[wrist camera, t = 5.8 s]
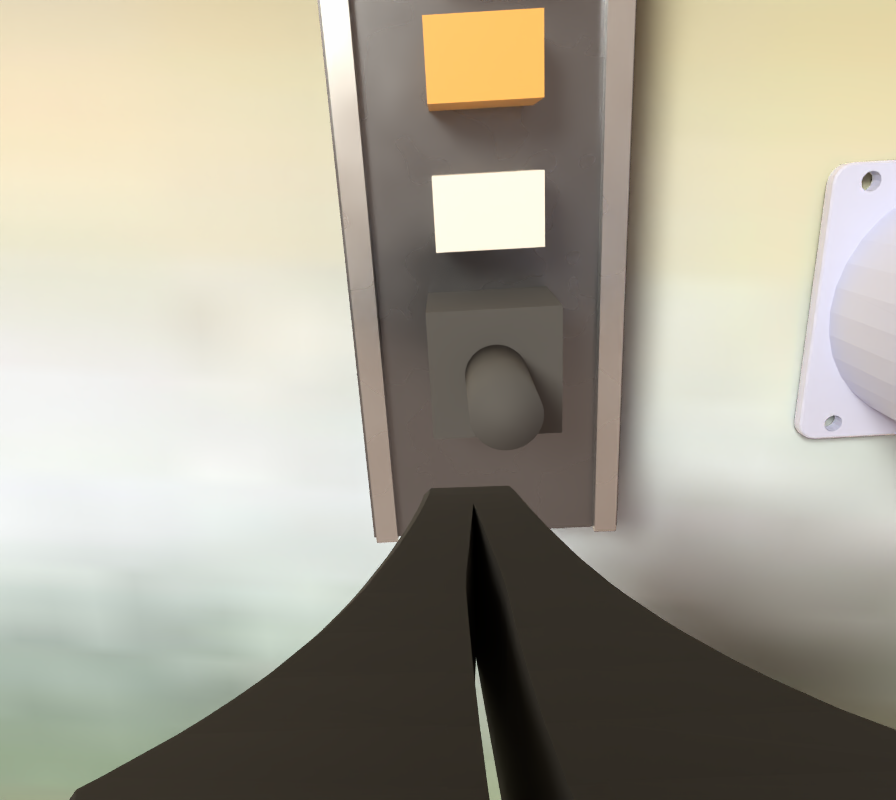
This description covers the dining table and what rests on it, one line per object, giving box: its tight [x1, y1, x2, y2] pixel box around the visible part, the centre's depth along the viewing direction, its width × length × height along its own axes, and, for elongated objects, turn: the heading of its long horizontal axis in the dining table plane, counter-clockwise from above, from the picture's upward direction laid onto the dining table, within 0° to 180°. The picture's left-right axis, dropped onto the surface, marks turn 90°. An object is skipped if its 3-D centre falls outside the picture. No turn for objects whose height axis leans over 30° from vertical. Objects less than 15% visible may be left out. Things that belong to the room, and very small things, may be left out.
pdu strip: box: [318, 0, 637, 543], centre depth 16 cm, size 7×24×3 cm, turn 3°
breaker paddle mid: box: [422, 8, 544, 111], centre depth 14 cm, size 2×2×2 cm
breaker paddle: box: [432, 170, 545, 253], centre depth 15 cm, size 2×2×2 cm
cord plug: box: [425, 286, 563, 450], centre depth 15 cm, size 3×3×5 cm
